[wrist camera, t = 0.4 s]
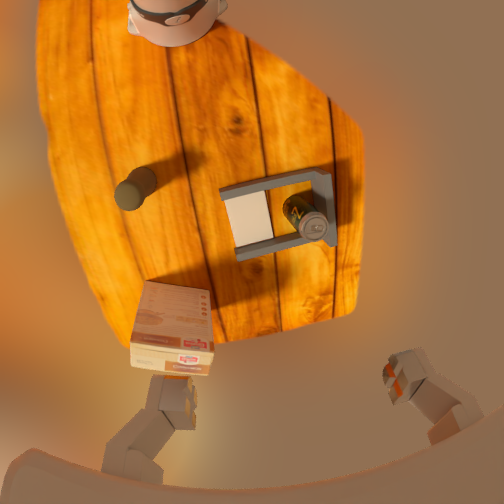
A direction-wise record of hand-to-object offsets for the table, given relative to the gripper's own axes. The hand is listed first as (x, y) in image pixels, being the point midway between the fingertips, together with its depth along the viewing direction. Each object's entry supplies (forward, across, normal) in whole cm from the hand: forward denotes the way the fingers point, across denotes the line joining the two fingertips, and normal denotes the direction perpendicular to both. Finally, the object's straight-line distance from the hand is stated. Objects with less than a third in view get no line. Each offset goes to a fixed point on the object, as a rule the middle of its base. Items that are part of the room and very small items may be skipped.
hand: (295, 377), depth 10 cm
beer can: (+47, -9, +11) cm, 49 cm away
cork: (+44, +21, +3) cm, 48 cm away
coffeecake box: (+42, +18, +30) cm, 55 cm away
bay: (+46, -5, +12) cm, 48 cm away
